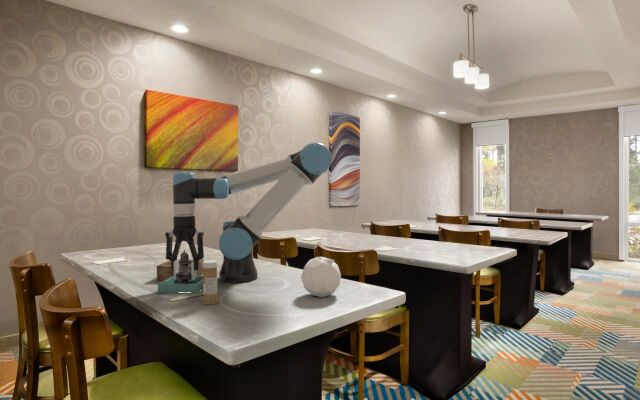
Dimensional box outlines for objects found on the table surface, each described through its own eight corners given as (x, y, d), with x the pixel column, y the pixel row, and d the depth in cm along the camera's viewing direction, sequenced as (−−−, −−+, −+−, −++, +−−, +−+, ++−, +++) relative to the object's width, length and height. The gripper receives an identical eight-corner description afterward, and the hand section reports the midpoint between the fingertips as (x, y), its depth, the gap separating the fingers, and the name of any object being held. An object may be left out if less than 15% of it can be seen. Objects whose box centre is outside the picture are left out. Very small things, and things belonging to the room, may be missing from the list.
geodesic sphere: (356, 276, 140) (333, 244, 142) (343, 285, 127) (319, 249, 130) (325, 298, 144) (304, 266, 147) (310, 309, 131) (287, 274, 134)
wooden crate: (204, 273, 173) (204, 259, 173) (191, 281, 159) (191, 266, 159) (172, 273, 174) (172, 259, 173) (156, 281, 160) (156, 265, 160)
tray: (210, 284, 154) (210, 275, 154) (197, 293, 140) (196, 284, 140) (174, 283, 155) (174, 275, 155) (157, 293, 141) (157, 284, 141)
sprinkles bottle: (204, 301, 131) (203, 259, 130) (218, 301, 131) (218, 259, 131) (201, 305, 126) (201, 262, 126) (216, 305, 126) (216, 262, 126)
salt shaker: (188, 285, 144) (187, 251, 143) (173, 284, 145) (172, 251, 145) (196, 281, 150) (195, 249, 149) (181, 280, 151) (181, 248, 150)
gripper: (213, 214, 150) (214, 277, 151) (163, 214, 151) (164, 276, 152) (206, 216, 142) (207, 281, 143) (154, 216, 144) (155, 281, 144)
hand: (185, 278), depth 148 cm, fingers closed on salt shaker, 6 cm apart
